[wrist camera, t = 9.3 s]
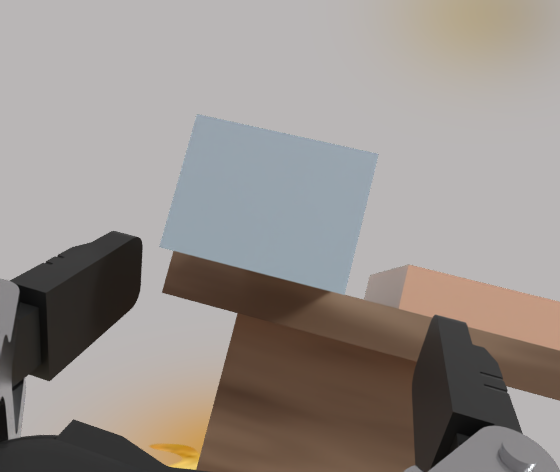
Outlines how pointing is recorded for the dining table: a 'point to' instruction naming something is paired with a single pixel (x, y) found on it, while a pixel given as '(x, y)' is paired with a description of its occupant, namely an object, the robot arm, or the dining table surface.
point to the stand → (323, 374)
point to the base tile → (468, 303)
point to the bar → (270, 203)
